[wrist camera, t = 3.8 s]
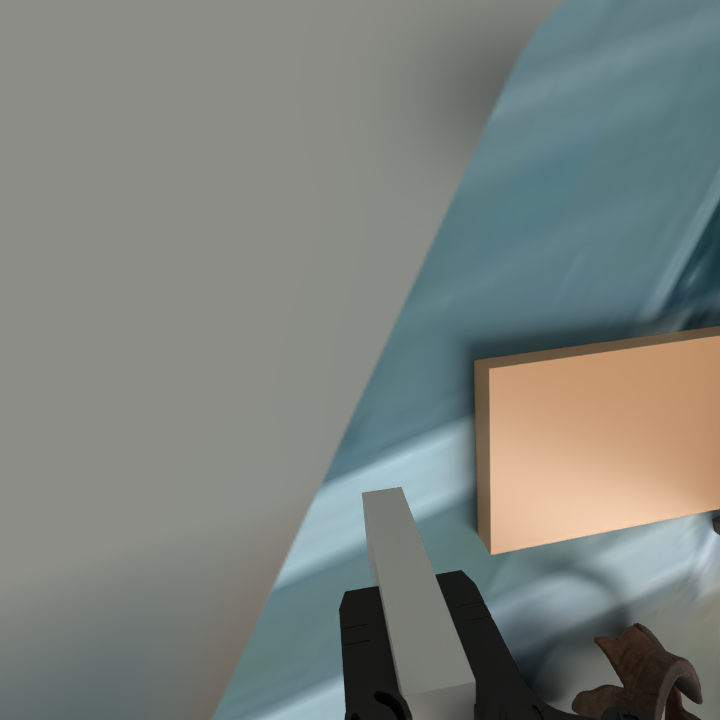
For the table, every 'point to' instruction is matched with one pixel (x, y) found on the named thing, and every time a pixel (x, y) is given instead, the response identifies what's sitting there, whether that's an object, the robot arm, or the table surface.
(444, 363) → the table surface
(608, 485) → the terracotta panel
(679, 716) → the broken clay pot
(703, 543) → the table surface
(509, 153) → the table surface
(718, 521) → the walnut shelf
